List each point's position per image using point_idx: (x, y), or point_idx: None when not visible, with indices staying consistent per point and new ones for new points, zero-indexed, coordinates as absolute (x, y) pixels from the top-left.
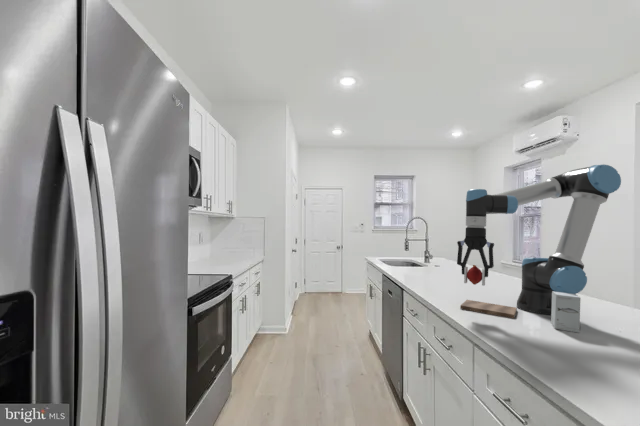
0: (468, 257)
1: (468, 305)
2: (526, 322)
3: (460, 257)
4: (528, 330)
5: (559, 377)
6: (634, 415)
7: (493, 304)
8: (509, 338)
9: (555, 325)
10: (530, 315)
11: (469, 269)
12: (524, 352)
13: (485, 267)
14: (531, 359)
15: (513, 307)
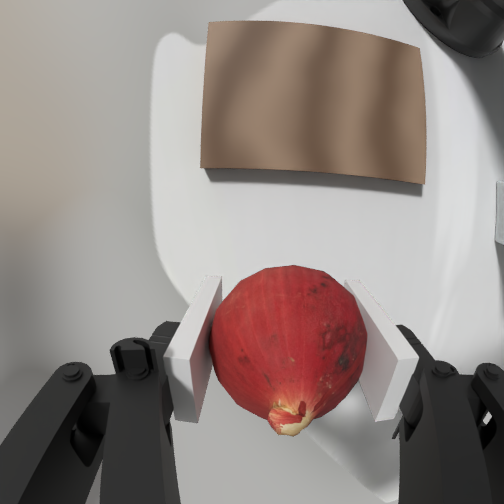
0: (169, 500)
1: (234, 138)
2: (446, 213)
3: (86, 495)
4: (434, 311)
5: (393, 476)
6: None
7: (335, 37)
8: None
9: (502, 243)
10: (454, 94)
11: (231, 393)
12: (378, 448)
13: (410, 431)
14: (379, 461)
15: (410, 49)
